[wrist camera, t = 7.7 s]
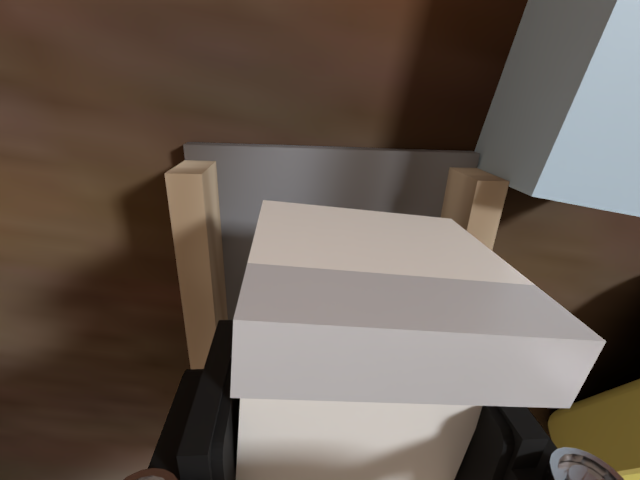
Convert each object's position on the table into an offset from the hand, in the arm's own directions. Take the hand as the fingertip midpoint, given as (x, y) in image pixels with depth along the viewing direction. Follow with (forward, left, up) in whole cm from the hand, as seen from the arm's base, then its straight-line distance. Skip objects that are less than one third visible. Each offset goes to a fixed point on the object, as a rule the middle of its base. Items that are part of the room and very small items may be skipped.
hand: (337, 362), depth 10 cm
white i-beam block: (0, 0, -1) cm, 1 cm away
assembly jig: (0, 0, -5) cm, 5 cm away
